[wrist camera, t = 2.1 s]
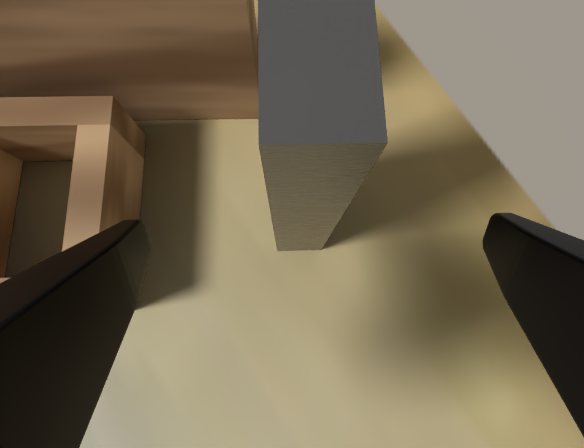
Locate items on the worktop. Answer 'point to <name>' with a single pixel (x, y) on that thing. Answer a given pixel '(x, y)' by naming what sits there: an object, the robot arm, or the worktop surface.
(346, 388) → the worktop surface
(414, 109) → the worktop surface
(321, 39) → the grey bar
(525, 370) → the worktop surface
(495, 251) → the robot arm
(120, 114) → the wooden socket
